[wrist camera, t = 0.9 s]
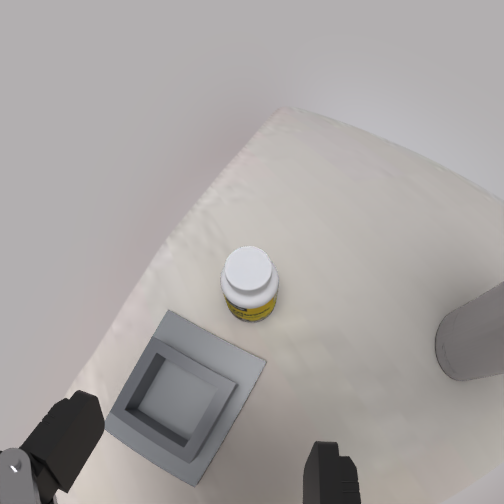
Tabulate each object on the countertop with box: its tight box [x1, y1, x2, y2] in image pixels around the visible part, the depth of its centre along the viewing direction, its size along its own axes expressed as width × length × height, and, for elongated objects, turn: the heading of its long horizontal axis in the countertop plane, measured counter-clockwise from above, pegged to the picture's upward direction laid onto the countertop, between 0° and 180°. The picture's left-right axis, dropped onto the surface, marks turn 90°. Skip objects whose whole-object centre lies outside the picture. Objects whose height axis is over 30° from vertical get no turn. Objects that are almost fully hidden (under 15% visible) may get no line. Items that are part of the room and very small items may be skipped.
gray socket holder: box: [104, 310, 266, 487], centre depth 28 cm, size 16×12×5 cm
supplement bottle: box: [221, 246, 279, 322], centre depth 31 cm, size 5×5×10 cm
